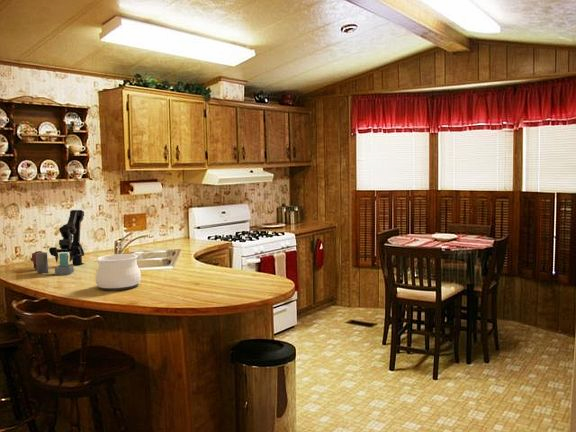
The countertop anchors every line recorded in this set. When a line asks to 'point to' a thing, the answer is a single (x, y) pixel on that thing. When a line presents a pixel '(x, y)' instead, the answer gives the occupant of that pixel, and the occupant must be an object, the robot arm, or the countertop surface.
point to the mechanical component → (35, 259)
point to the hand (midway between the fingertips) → (63, 261)
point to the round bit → (42, 262)
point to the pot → (118, 272)
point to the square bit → (63, 259)
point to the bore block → (64, 270)
